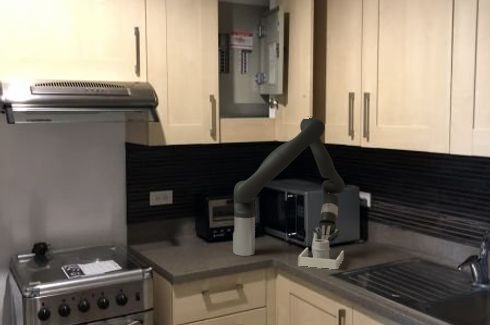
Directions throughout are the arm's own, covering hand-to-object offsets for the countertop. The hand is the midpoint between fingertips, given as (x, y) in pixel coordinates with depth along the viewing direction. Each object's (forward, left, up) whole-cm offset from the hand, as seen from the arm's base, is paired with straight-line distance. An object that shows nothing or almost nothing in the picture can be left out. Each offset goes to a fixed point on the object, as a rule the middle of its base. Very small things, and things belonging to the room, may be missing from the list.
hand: (323, 248), depth 235 cm
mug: (+1, -4, -6) cm, 7 cm away
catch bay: (+2, -4, -5) cm, 7 cm away
